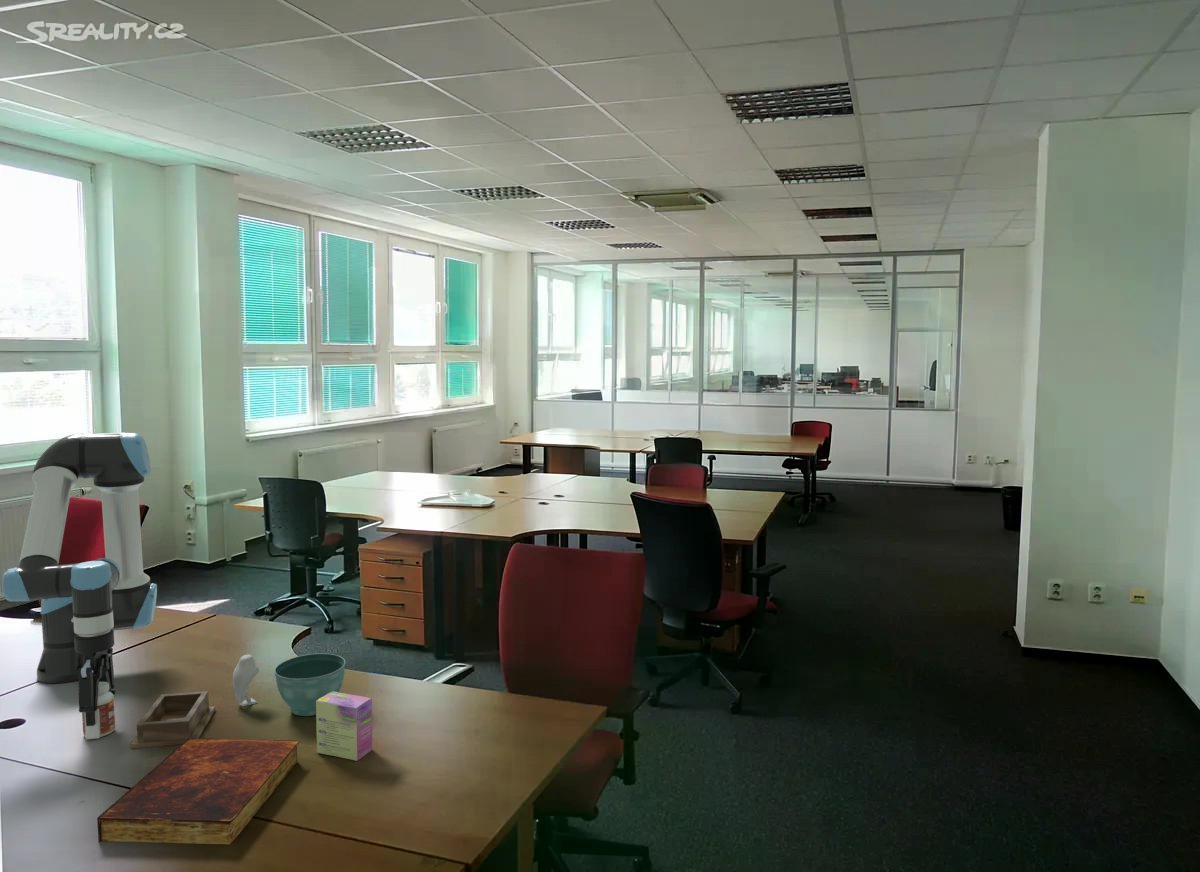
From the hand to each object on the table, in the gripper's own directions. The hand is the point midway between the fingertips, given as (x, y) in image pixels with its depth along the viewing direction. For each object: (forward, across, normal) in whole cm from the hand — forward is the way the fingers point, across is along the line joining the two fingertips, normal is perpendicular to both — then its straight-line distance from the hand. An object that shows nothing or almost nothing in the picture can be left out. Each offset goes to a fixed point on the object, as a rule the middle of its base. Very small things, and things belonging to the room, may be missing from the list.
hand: (99, 730), depth 181 cm
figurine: (+1, -10, +29) cm, 31 cm away
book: (+1, +34, +31) cm, 46 cm away
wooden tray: (0, +1, +16) cm, 16 cm away
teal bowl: (+1, -4, +45) cm, 45 cm away
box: (+1, +20, +55) cm, 59 cm away
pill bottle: (+1, 0, 0) cm, 1 cm away
